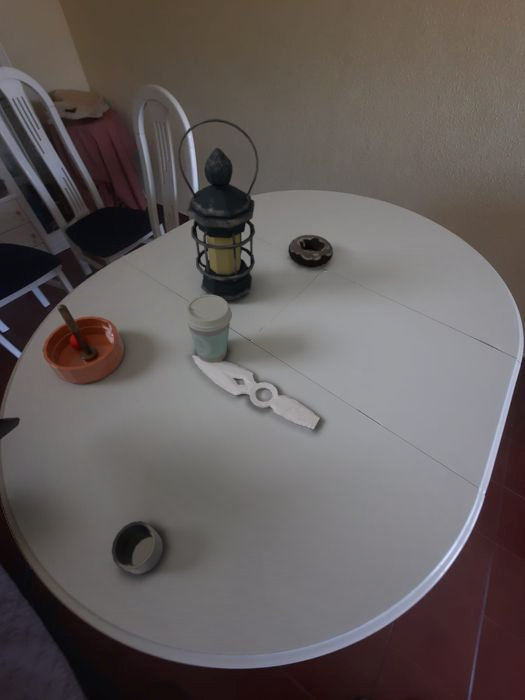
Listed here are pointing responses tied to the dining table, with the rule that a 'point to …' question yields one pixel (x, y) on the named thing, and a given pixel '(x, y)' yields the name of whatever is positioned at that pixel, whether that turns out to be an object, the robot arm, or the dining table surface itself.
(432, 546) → the dining table surface
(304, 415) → the knife
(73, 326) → the brown wooden rod
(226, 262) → the lantern
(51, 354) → the bowl
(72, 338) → the cherry tomato
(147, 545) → the utensil holder
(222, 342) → the coffee cup
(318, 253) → the donut
